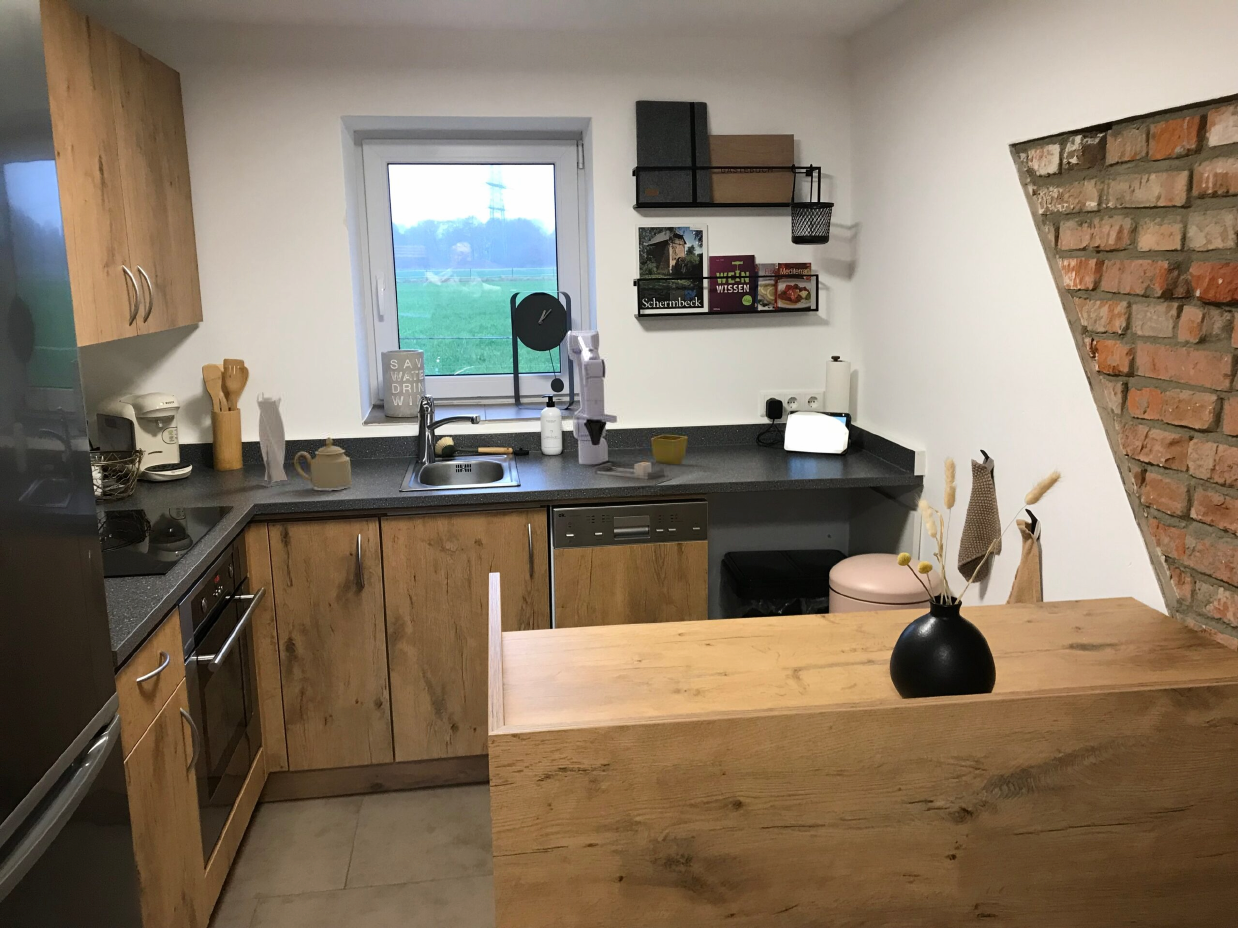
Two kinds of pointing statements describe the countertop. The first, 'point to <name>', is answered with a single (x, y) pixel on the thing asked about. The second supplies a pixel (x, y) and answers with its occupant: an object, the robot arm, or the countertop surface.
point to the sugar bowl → (327, 467)
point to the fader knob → (642, 468)
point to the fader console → (608, 466)
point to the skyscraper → (272, 438)
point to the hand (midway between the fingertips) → (595, 444)
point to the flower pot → (669, 448)
